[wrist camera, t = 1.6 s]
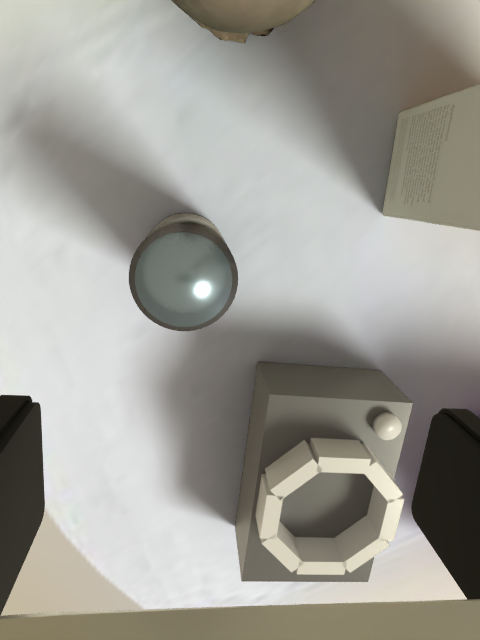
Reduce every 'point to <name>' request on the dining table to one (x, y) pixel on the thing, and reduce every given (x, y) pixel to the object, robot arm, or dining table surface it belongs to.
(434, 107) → the small box
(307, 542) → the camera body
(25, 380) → the dining table surface
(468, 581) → the robot arm
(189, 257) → the lens
